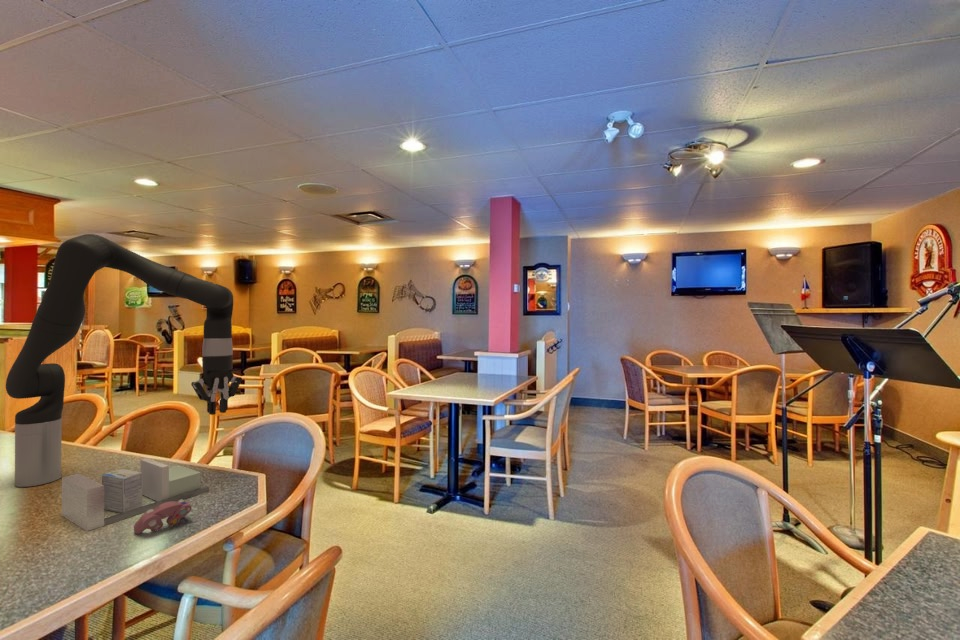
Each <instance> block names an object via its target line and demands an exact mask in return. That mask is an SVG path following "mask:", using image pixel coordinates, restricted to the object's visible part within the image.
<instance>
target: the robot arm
mask: <svg viewBox="0 0 960 640" xmlns="http://www.w3.org/2000/svg"><path fill="white" fill-rule="evenodd" d="M103 268H109V269H113V270H117V271H121V272H124V273H127V274H130V275H131V276H134V277H135V278H137V279H138V280H140V281H142V282H143V283H144V284H146V285H148V286H149V287H151V288H153V289H155V290H158V291H160V292H162V293H165V294H169V295H171V296H175V297H177V298H181V299H185V300H188V301H192V302H193V303H195V304H197V305H198V304H199V305H201V306H204V307H206V318H205V320H204V323H203V340H202V341H203V342H202V347H201V348H202V356H201V358H202V359H201V361H202V363H201V365H202V366H201V367H202V368H201V370H202V374H201V376H200V379H198V380H196V381H192V382H191V387H192V388H193V390H194V392H195V394H196V395H197V397H198V399H199V400H200V401H205V402H206V412H207V413H208V414H209V415H210V416H214V415H216V414H217V413H216V409H217V407H216V406H217V402H216V394H217V393H218V392H219V398H220V399H219V409H218V410H219V413H221V414H225V413H226V412H227V411H228V410H229V409H228V407H229V403H228V402H229V401H228V400H229V399H230V398H232V397H235V395H236V394H237V391H238V389H239V387H240V385H241V383H242V380H243V378H242V377H239V376H236V375H234V372H233V359H234V358H233V357H234V356H233V355H234V354H233V353H234V347H233V346H234V345H233V339H232V337H233V336H232V335H233V334H232V333H233V326H232V318H233V311H234V295H233V293H232V291H231V289H229V288H228V287H226V286H224V285H221V284H218V283H216V282H211V281H209V280H205V279H201V278H199V277H198V278H197V277H196V276H194V275H192V274H190V273H187V272H184V271H181V270H178V269H175V268H172V267H170V266H168V265H165V264H161V263H158V262H157V261H154V260H152V259H149V258H148V257H144V256H143V255H140V254H138V253H136V252H133V251H132V250H130V249H128V248H125V247H124V246H122V245H120V244H118V243H116V242H114V241H112V240H110V239H109V238H106V237H104V236H101V235H98V234H95V233H85V234H81V235H78V236H75V237H72V238H69V239H66V240H65V241H63V242H62V243H61V244H60V245H59V246H58V249H57V251H56V253H55V259H54V263H53V267H52V272H51V276H50V280H49V283H48V285H47V287H46V289H45V292H44V294H43V296H42V299H41V302H40V304H39V305H38V308H37V310H36V313H35V316H34V318H33V320H32V322H31V323H32V324H31V325H30V326H31V327H30V329H29V332H28V334H27V337H26V339H25V340H24V341H25V342H24V344H23V345H22V347H21V349H20V352H19V354H18V355H17V357H16V359H15V361H14V362H13V364H12V366H11V367H10V369H9V371H8V374H7V377H6V381H5V390H6V394H7V395H8V396H9V397H10V398H11V399H22V400H23V399H32V398H38V397H40V399H39V400H38V401H37V402H36V403H34V404H33V405H31V406H29V407H27V408H25V409H22V410H20V411H18V412H16V413H15V416H14V486H15V487H18V488H27V487H34V486H40V485H46V484H49V483H53V482H55V481H57V480H59V479H62V413H63V409H64V401H65V400H64V399H65V386H66V374H65V370H64V368H63V367H62V366H61V365H60V364H58V363H53V362H51V363H43V362H44V361H45V360H46V359H47V358H48V357H49V356H51V355H52V354H53V353H55V352H57V351H58V350H60V349H61V348H62V347H64V346H65V345H67V344H68V343H69V342H70V341H72V340H73V339H74V338H75V337H76V336H77V335H78V333H79V330H80V327H81V326H82V323H83V321H84V318H85V315H86V304H85V298H84V297H85V292H86V289H87V287H88V285H89V283H90V281H91V279H92V277H93V276H94V274H95V273H96V272H97V271H99V270H102V269H103ZM229 384H230V385H229ZM204 385H205V386H206V390H205V389H204Z"/></svg>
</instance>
